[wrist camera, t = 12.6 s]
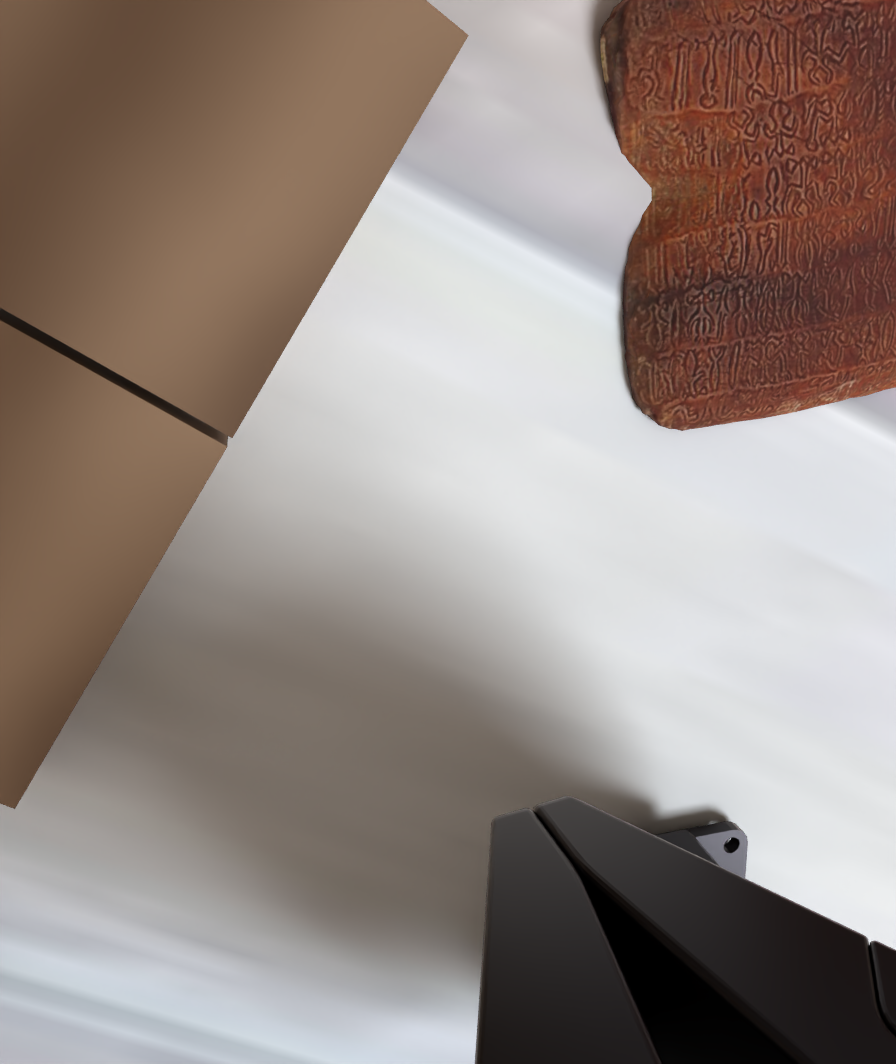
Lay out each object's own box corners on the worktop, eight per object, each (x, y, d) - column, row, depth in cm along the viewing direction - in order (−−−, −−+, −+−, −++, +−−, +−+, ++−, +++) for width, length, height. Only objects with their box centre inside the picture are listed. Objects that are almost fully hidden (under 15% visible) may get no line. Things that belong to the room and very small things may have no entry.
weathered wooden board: (448, 57, 17) (468, 35, 16) (32, 769, 19) (14, 808, 18) (30, -279, 14) (7, -346, 13) (-416, 597, 16) (-482, 627, 15)
